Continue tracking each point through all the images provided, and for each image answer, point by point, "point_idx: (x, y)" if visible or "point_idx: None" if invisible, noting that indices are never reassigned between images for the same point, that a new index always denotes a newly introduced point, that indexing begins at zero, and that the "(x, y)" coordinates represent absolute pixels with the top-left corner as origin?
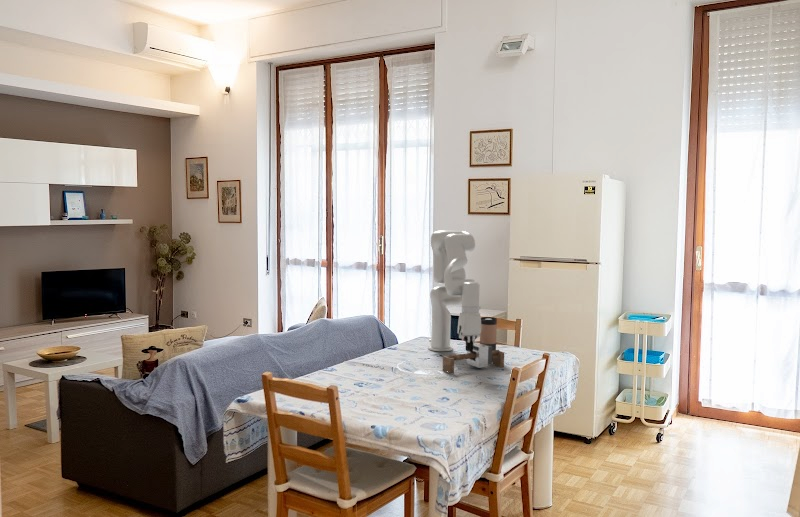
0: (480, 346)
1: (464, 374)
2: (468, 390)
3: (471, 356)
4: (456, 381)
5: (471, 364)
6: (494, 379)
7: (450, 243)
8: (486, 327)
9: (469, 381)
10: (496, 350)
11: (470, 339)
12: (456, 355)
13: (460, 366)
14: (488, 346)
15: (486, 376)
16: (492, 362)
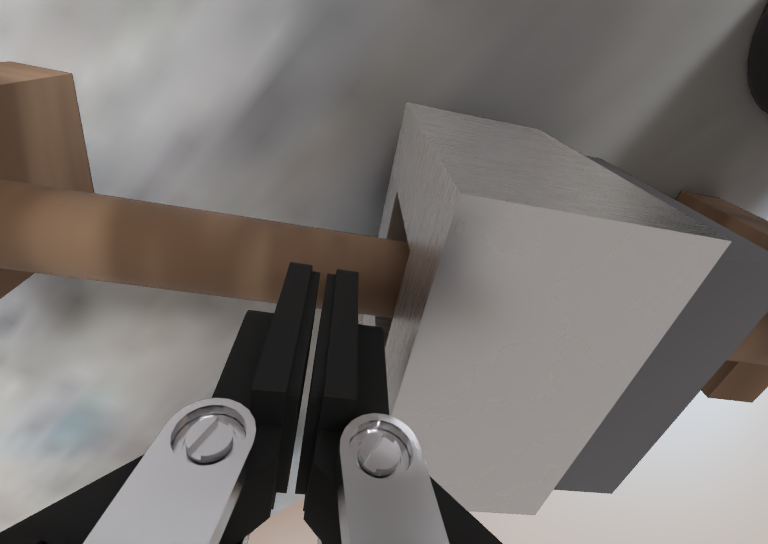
0: (445, 475)
1: (180, 297)
2: (13, 513)
3: None
4: (11, 389)
5: (387, 200)
6: (298, 458)
7: None
8: None
9: (111, 424)
10: (758, 357)
11: (335, 511)
12: (46, 269)
13: (346, 37)
14: (604, 462)
15: (303, 403)
16: (694, 199)
